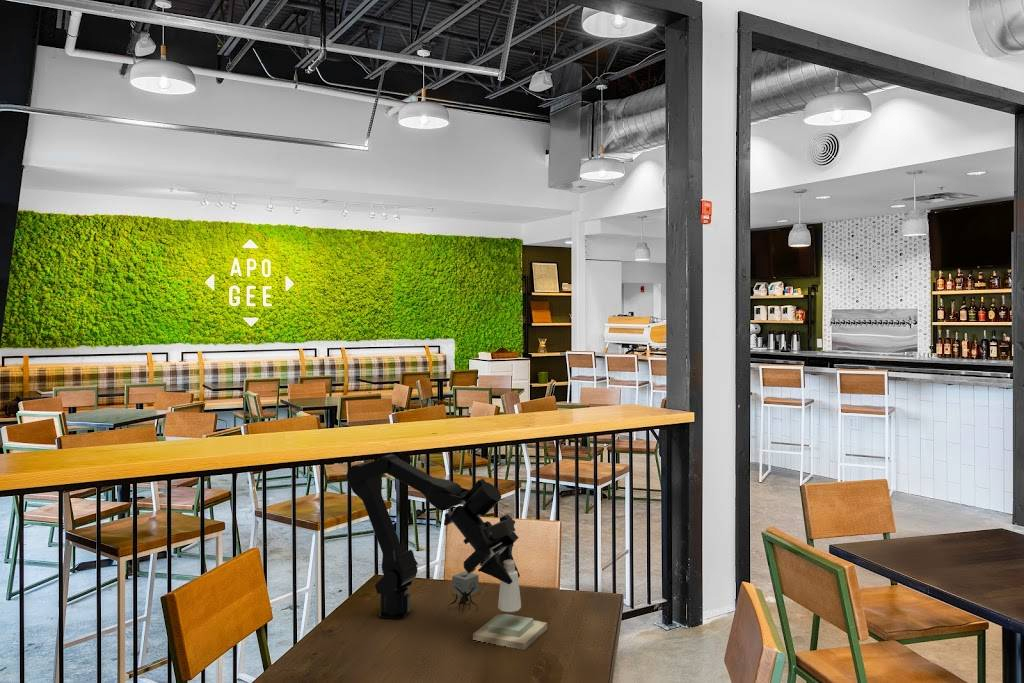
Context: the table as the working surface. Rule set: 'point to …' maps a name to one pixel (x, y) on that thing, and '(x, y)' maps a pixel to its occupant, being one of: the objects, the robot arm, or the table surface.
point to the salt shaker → (510, 590)
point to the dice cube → (465, 583)
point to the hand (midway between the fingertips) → (514, 580)
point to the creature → (464, 598)
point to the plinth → (509, 639)
